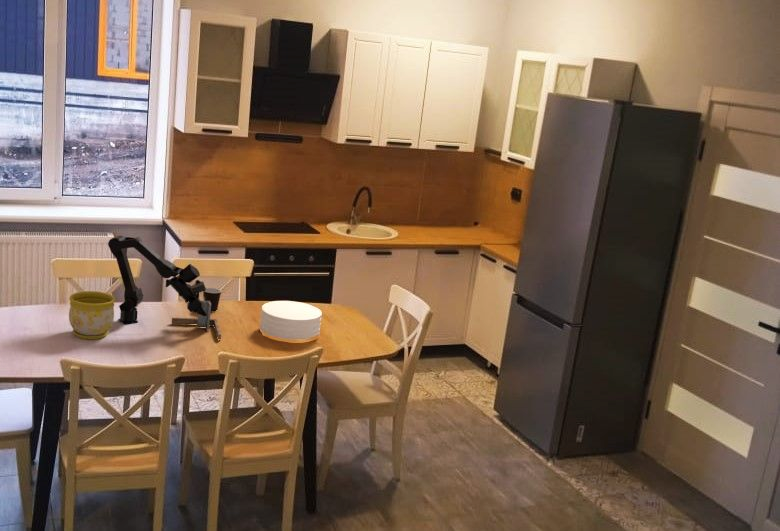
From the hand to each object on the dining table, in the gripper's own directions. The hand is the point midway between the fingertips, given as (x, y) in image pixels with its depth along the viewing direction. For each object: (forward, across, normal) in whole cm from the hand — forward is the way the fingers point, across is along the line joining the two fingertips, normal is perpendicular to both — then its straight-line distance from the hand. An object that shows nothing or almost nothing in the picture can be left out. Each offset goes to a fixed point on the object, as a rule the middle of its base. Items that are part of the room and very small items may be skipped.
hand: (205, 312), depth 359 cm
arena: (+3, -4, +8) cm, 10 cm away
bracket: (+6, 0, +6) cm, 8 cm away
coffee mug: (+11, +30, +1) cm, 32 cm away
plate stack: (+34, -1, -22) cm, 40 cm away
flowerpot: (-28, -10, +40) cm, 49 cm away
